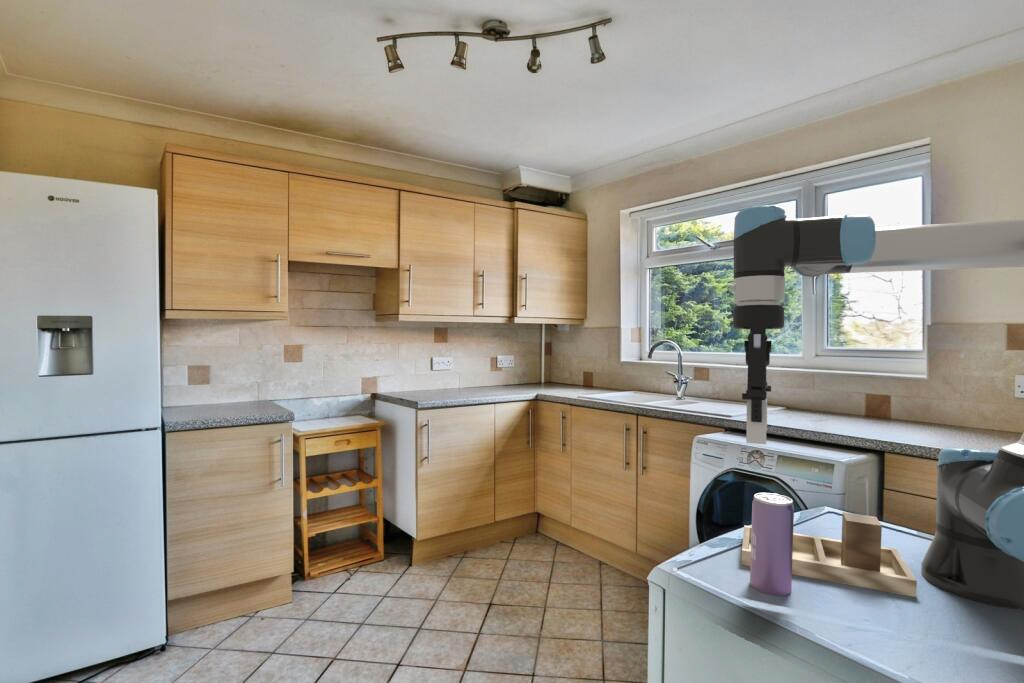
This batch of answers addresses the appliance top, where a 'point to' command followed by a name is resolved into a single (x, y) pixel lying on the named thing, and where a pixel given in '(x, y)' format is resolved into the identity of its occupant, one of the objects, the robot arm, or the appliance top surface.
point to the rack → (825, 564)
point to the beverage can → (772, 544)
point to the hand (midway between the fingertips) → (757, 436)
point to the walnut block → (861, 542)
